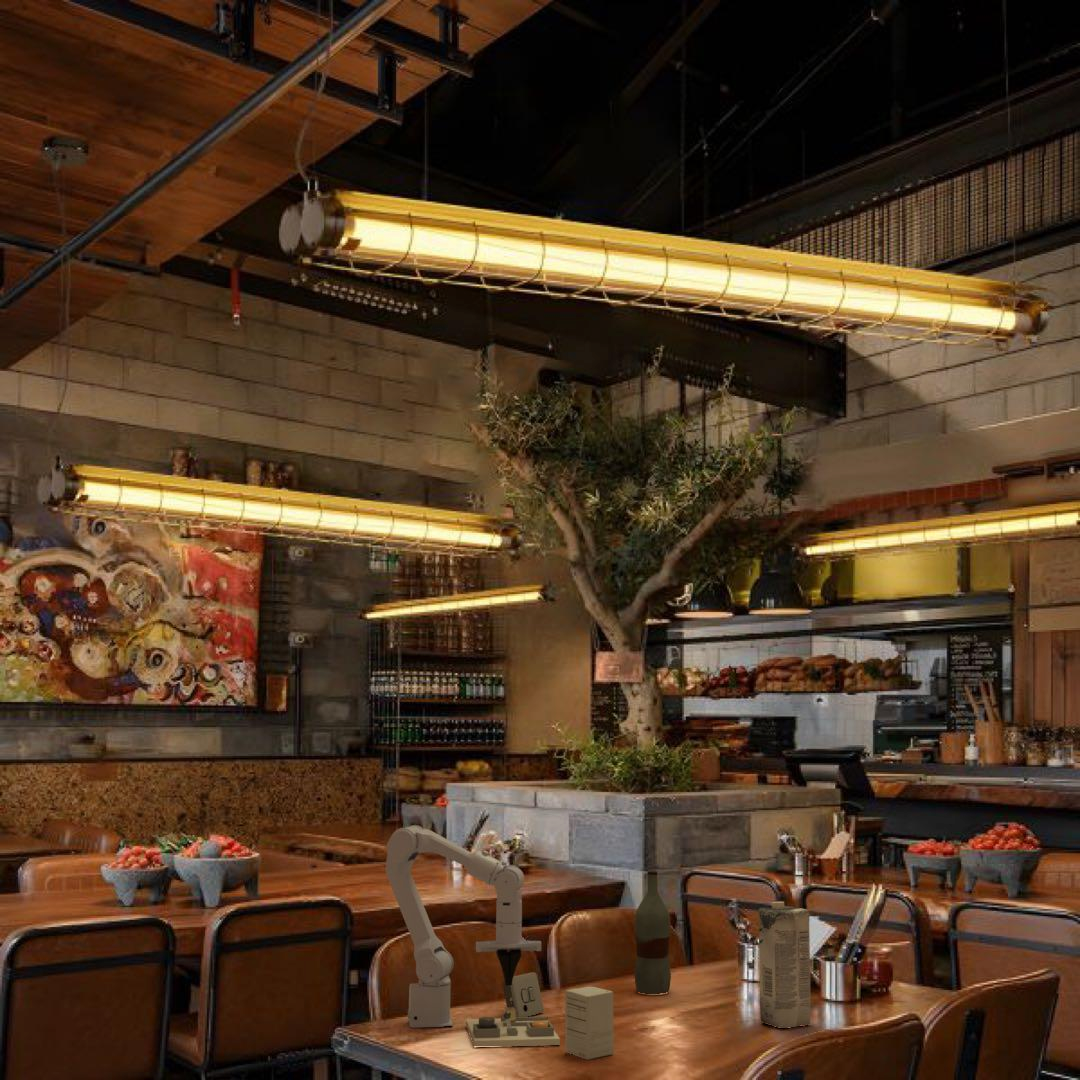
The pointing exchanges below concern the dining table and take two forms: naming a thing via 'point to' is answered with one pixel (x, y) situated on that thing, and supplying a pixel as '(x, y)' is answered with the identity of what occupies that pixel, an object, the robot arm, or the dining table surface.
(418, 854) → the robot arm
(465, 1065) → the dining table surface
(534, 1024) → the orange button
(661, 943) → the bottle
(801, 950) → the juice carton
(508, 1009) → the brass slider
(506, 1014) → the toggle lever
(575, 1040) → the supplement box
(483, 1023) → the black button
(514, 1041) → the control panel
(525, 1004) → the electrical switch
